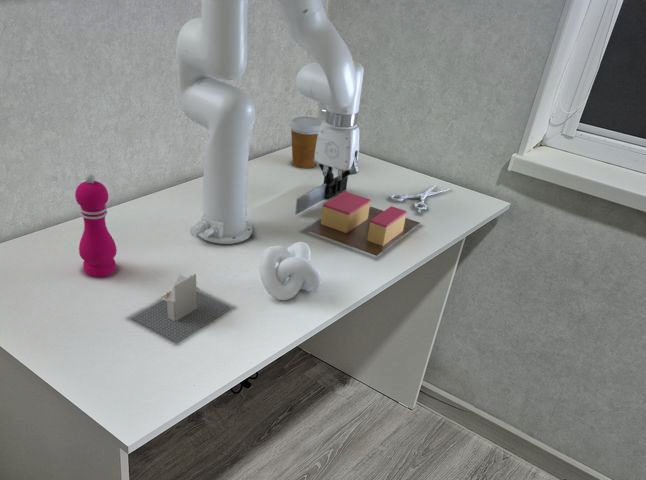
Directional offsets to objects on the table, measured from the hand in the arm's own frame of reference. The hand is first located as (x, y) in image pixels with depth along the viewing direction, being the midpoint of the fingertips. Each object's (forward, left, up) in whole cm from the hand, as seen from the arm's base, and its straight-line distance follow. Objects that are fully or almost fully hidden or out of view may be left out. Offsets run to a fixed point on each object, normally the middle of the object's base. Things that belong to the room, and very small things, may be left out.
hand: (332, 191), depth 163 cm
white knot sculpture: (-45, -17, -2) cm, 48 cm away
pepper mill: (-63, +16, -2) cm, 65 cm away
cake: (-11, -10, -1) cm, 15 cm away
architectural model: (-64, -7, -2) cm, 65 cm away
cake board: (-10, -15, -2) cm, 18 cm away
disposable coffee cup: (+15, +18, -2) cm, 24 cm away
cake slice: (-11, -21, -1) cm, 24 cm away
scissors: (+17, -18, -2) cm, 24 cm away
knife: (-6, 0, -1) cm, 6 cm away
